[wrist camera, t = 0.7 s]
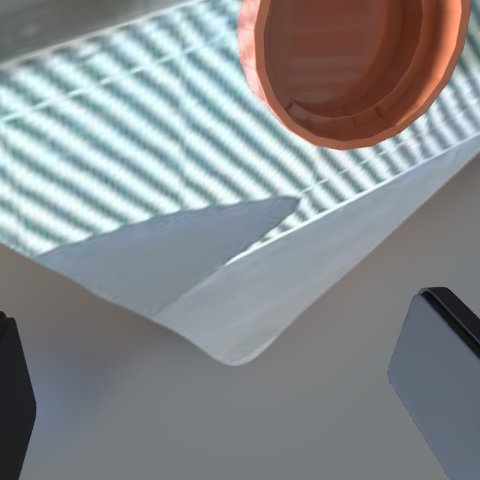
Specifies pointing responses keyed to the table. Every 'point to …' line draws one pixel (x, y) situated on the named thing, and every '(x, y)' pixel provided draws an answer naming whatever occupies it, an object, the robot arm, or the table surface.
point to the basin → (350, 63)
